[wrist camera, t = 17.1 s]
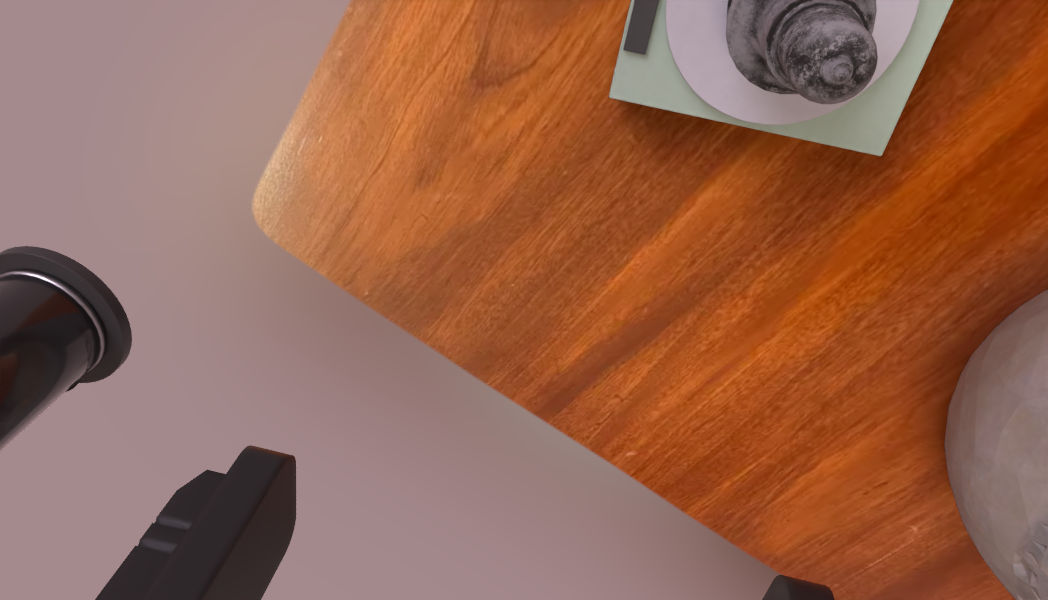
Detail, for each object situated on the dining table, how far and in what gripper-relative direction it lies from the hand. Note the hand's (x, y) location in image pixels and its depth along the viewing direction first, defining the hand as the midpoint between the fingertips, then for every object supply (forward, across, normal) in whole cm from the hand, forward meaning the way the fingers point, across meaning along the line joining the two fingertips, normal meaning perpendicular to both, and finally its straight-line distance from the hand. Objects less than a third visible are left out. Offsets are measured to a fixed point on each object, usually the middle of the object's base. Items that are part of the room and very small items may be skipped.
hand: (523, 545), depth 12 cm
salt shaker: (+29, -7, -5) cm, 30 cm away
